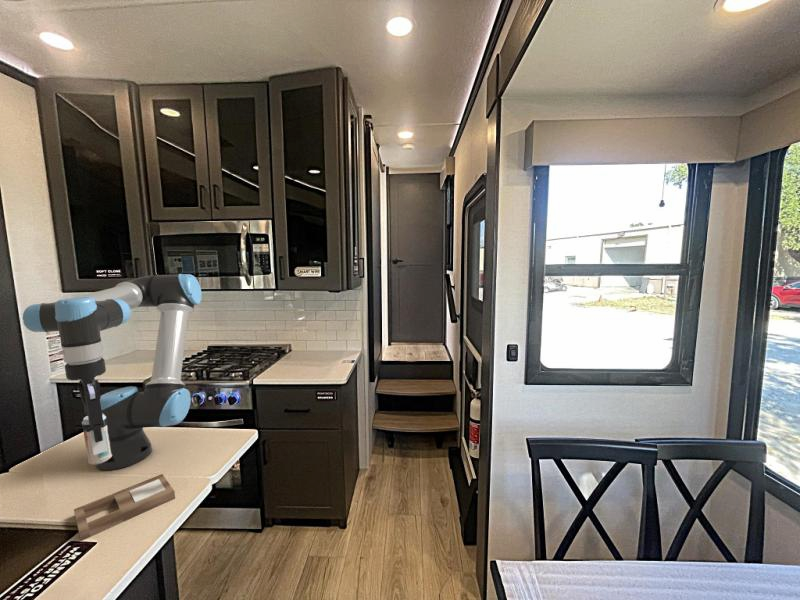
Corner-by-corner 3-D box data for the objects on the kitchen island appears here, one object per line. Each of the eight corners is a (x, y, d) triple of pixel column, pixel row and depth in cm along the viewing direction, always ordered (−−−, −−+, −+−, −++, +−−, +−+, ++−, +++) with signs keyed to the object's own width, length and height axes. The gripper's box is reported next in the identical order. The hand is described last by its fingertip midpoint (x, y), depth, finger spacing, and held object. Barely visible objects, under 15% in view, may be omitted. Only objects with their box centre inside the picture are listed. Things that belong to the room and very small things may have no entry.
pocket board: (75, 517, 96) (73, 508, 96) (163, 480, 110) (162, 473, 110) (80, 540, 88) (79, 531, 87) (175, 498, 102) (174, 490, 102)
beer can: (97, 455, 97) (90, 412, 95) (116, 454, 97) (110, 411, 95) (83, 466, 92) (75, 421, 90) (103, 465, 92) (96, 420, 90)
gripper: (61, 357, 94) (76, 442, 97) (66, 372, 82) (83, 469, 85) (99, 350, 99) (111, 431, 103) (109, 363, 87) (123, 455, 90)
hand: (99, 448), depth 94 cm, fingers closed on beer can, 5 cm apart
